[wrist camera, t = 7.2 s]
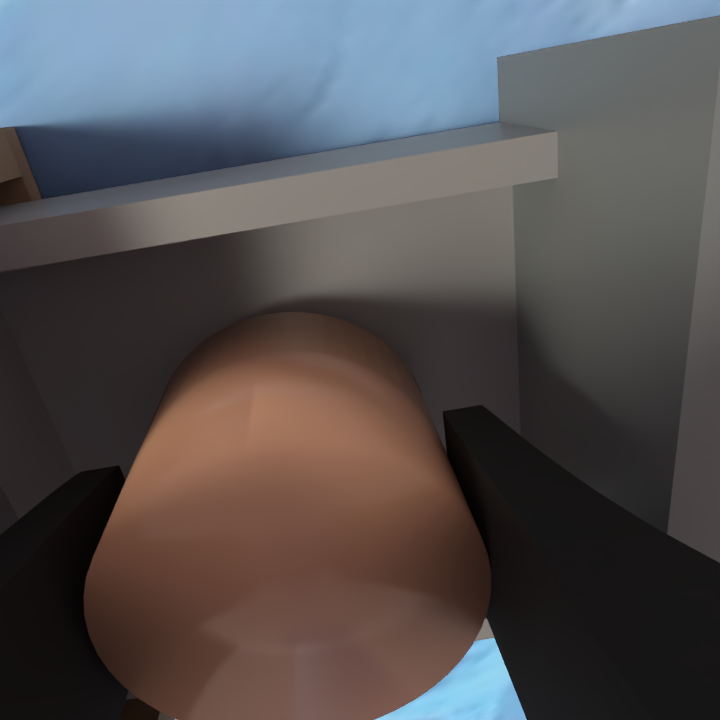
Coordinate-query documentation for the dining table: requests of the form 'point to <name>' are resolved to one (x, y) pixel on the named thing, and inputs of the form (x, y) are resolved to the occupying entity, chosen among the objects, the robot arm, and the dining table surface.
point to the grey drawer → (417, 278)
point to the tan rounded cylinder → (288, 535)
